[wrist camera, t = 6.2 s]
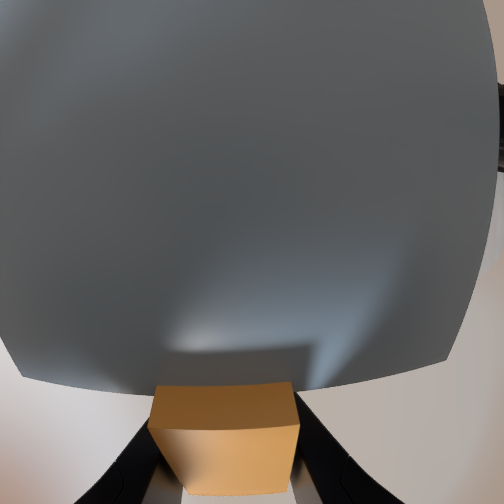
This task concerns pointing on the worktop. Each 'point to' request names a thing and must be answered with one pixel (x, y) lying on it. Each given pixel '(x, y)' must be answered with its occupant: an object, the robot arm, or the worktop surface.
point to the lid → (240, 206)
